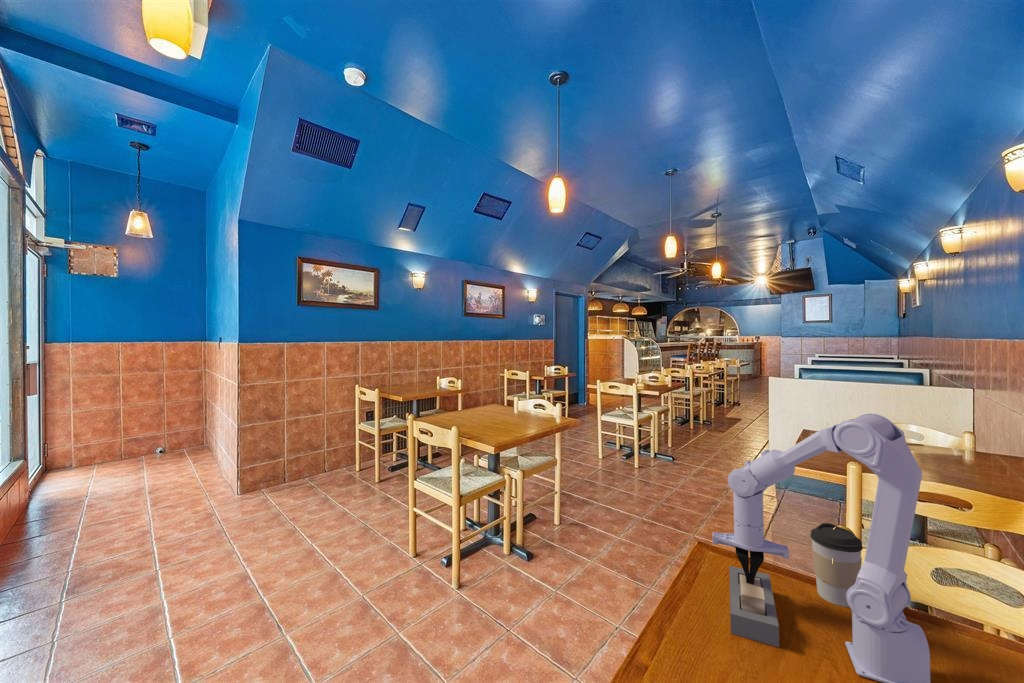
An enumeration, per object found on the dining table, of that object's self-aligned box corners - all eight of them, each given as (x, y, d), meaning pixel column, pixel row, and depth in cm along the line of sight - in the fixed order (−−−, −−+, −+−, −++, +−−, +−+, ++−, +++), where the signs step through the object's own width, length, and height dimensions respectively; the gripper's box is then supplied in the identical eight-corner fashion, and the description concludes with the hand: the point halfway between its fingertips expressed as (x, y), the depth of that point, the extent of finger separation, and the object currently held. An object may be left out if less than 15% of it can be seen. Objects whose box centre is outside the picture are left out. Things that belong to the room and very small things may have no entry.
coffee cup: (874, 612, 82) (873, 542, 82) (825, 608, 84) (824, 538, 84) (847, 586, 91) (845, 521, 91) (803, 582, 93) (801, 519, 93)
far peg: (760, 594, 89) (759, 578, 89) (761, 605, 85) (761, 588, 85) (739, 589, 91) (739, 574, 91) (740, 599, 87) (740, 583, 87)
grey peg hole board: (769, 591, 90) (769, 574, 90) (779, 647, 74) (778, 626, 74) (729, 582, 94) (729, 565, 94) (730, 633, 78) (730, 613, 78)
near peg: (763, 605, 81) (762, 588, 81) (765, 617, 77) (764, 599, 77) (740, 599, 83) (740, 582, 83) (741, 611, 79) (741, 593, 79)
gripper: (785, 519, 88) (786, 580, 88) (712, 508, 95) (713, 563, 95) (790, 534, 82) (791, 599, 82) (711, 520, 89) (713, 580, 89)
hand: (749, 581), depth 88 cm, fingers closed, pressing on far peg
